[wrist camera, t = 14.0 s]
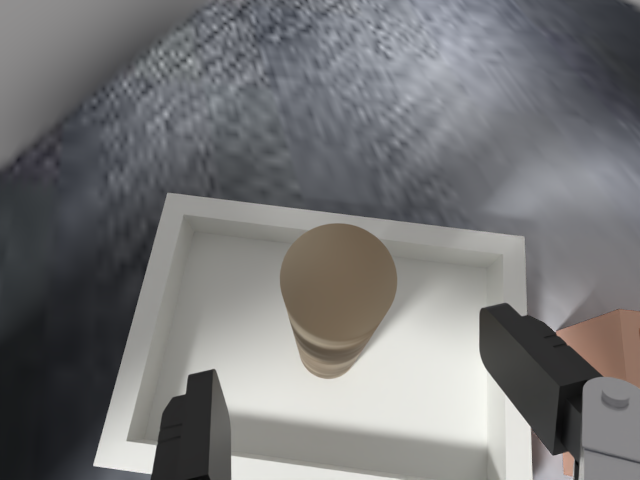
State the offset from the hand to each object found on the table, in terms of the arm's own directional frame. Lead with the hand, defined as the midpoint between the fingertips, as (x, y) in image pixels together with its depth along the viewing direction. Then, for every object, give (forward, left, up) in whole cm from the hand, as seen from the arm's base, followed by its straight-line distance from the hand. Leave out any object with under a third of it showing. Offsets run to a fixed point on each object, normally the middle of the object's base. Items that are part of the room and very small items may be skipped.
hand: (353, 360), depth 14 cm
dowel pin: (-1, +2, -12) cm, 12 cm away
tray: (-1, +2, -13) cm, 13 cm away
